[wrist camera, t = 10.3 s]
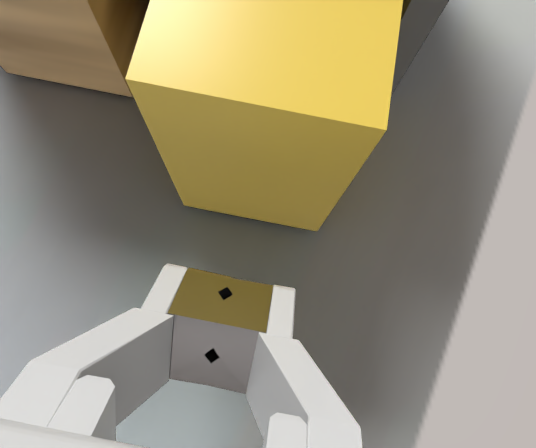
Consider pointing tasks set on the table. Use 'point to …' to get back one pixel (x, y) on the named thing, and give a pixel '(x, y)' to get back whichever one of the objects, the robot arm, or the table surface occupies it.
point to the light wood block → (71, 40)
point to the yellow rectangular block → (265, 99)
